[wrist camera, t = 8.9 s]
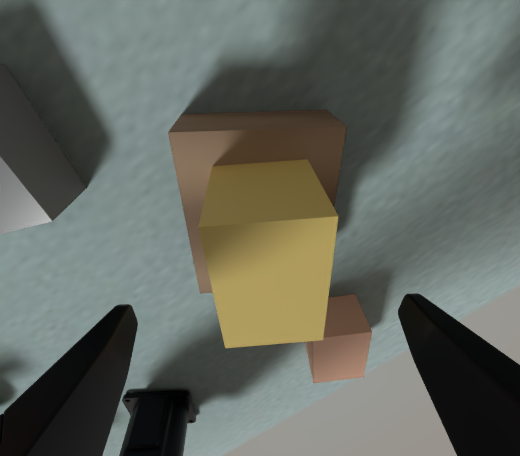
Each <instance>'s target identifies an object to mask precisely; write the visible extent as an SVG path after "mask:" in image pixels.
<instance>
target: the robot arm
mask: <svg viewBox="0 0 520 456" xmlns="http://www.w3.org/2000/svg"><path fill="white" fill-rule="evenodd" d="M398 316H399V319H400V322H401V325H402V328H403V331H404V334H405V337H406V340H407V343H408V346H409V349H410V351H411V354H412V357H413V360H414V362H415V364H416V367H417V369H418V371H419V373H420V375H421V378H422V380H423V382H424V384H425V386H426V389H427V391H428V393H429V395H430V397H431V400H432V401H433V404H434V406H435V408H436V410H437V413H438V415H439V417H440V419H441V421H442V424H443V426H444V428H445V430H446V432H447V434H448V437H449V439H450V441H451V443H452V445H453V447H454V450H455V452H456V454H457V456H520V365H519V364H518V363H516V362H515V361H513V360H512V359H511V358H509V357H508V356H506V355H505V354H504V353H502V352H501V351H499V350H498V349H496V348H495V347H494V346H492V345H491V344H489V343H488V342H487V341H485V340H484V339H482V338H481V337H480V336H478V335H477V334H475V333H474V332H472V331H471V330H470V329H468V328H467V327H465V326H464V325H463V324H461V323H460V322H458V321H457V320H456V319H454V318H453V317H451V316H450V315H449V314H447V313H446V312H444V311H443V310H442V309H440V308H439V307H437V306H436V305H434V304H433V303H432V302H430V301H429V300H427V299H426V298H425V297H423V296H422V295H420V294H406V295H405V296H404V298H403V300H402V303H401V305H400V307H399V309H398ZM137 326H138V322H137V318H136V316H135V313H134V310H133V308H132V306H131V305H129V304H124V305H117V306H115V307H114V308H113V309H112V310H111V311H110V312H109V313H108V314H107V315H106V316H104V317H103V318H102V319H101V320H100V321H99V322H98V323H97V324H96V325H95V326H94V327H93V328H92V329H91V330H90V331H89V332H88V333H86V334H85V335H84V336H83V337H82V338H81V339H80V340H79V341H78V342H77V343H76V344H75V345H74V346H73V347H72V348H71V349H70V350H69V351H67V352H66V353H65V354H64V355H63V356H62V357H61V358H60V359H59V360H58V361H57V362H56V363H55V364H54V365H53V366H52V367H51V368H49V369H48V370H47V371H46V372H45V373H44V374H43V375H42V376H41V377H40V378H39V379H38V380H37V381H36V382H35V383H34V384H33V385H32V386H30V387H29V388H28V389H27V390H26V391H25V392H24V393H23V394H22V395H21V396H20V397H19V398H18V399H17V400H16V401H15V402H14V403H12V404H11V405H10V406H9V407H8V408H7V409H6V410H5V411H4V414H1V415H0V456H102V455H103V452H104V449H105V446H106V442H107V439H108V436H109V433H110V430H111V427H112V423H113V420H114V417H115V414H116V411H117V408H118V404H119V401H120V398H121V395H122V392H123V389H124V386H125V382H126V379H127V375H128V371H129V366H130V362H131V357H132V352H133V347H134V342H135V337H136V332H137ZM122 401H123V403H124V405H125V407H126V408H127V410H128V412H129V413H130V415H131V417H130V420H129V424H128V427H127V431H126V434H125V438H124V441H123V444H122V448H121V451H120V455H119V456H183V452H184V444H185V437H186V430H187V423H194V422H196V414H195V411H194V407H193V403H192V400H191V396H190V393H189V392H188V391H173V392H155V393H137V394H125V395H124V396H123V399H122Z"/></svg>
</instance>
